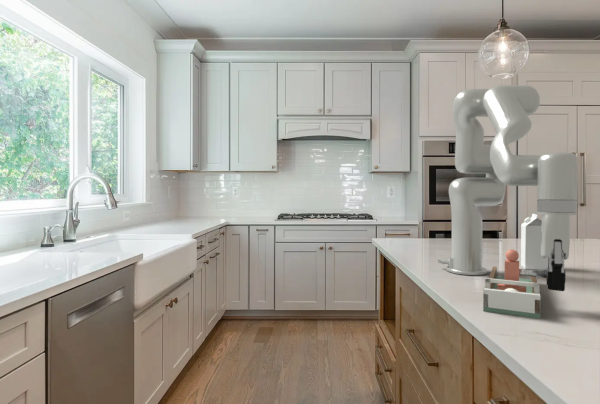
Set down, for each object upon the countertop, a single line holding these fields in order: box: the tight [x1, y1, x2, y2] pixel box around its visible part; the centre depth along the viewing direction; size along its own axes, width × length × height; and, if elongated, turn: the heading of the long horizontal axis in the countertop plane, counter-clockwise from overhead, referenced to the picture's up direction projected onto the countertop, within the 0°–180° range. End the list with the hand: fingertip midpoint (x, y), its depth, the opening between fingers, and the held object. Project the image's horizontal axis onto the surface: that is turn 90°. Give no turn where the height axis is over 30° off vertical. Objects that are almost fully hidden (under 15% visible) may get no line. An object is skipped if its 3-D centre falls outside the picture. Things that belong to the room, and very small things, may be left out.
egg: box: [505, 288, 518, 292], centre depth 88 cm, size 4×4×4 cm
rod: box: [497, 249, 567, 293], centre depth 91 cm, size 14×3×12 cm, turn 60°
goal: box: [482, 277, 541, 315], centre depth 88 cm, size 11×6×5 cm, turn 60°
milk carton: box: [520, 213, 548, 271], centre depth 136 cm, size 7×7×19 cm
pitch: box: [482, 266, 541, 320], centre depth 101 cm, size 11×36×4 cm, turn 150°
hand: (555, 287), depth 88 cm, fingers closed on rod, 3 cm apart
